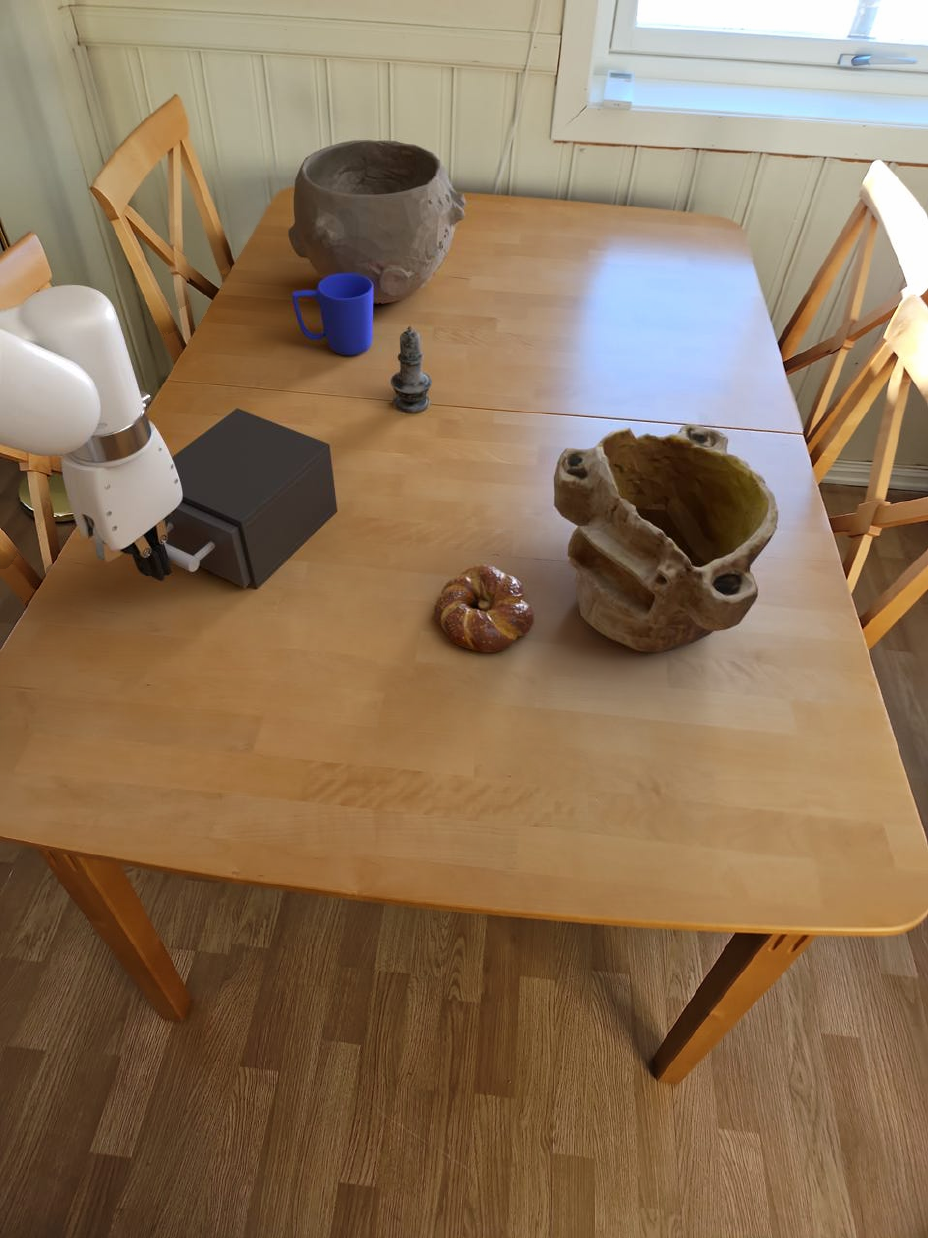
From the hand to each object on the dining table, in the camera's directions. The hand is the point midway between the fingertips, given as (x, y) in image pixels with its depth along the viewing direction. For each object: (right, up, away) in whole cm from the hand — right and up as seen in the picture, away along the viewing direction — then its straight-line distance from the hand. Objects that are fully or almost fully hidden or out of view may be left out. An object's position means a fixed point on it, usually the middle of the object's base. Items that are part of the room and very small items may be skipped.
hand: (156, 572), depth 88 cm
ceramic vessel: (+54, -5, +5) cm, 55 cm away
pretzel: (+35, -5, +4) cm, 36 cm away
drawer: (+5, +4, +10) cm, 12 cm away
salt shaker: (+25, +26, +31) cm, 48 cm away
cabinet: (+7, +6, +13) cm, 16 cm away
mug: (+13, +38, +41) cm, 57 cm away
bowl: (+19, +52, +54) cm, 77 cm away
